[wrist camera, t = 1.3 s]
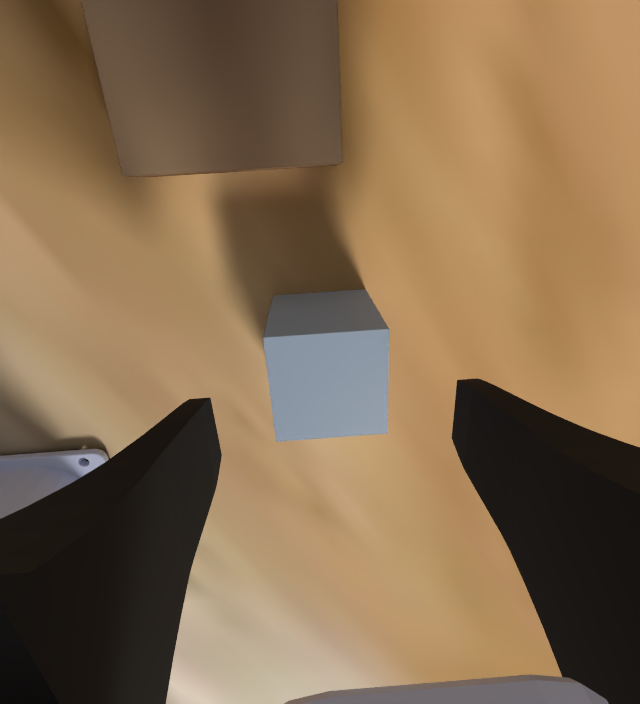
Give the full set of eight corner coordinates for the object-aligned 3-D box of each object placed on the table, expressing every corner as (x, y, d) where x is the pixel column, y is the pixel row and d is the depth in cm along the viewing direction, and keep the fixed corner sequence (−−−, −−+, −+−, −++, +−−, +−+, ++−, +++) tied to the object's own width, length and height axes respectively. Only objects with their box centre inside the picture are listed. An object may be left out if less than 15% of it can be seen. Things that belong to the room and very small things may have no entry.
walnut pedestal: (154, 176, 15) (122, 176, 12) (104, -66, 12) (49, -136, 10) (334, 165, 15) (342, 162, 13) (325, -76, 13) (332, -148, 10)
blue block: (282, 377, 19) (275, 441, 14) (273, 295, 17) (263, 337, 12) (366, 371, 19) (387, 433, 14) (365, 288, 17) (388, 328, 13)
